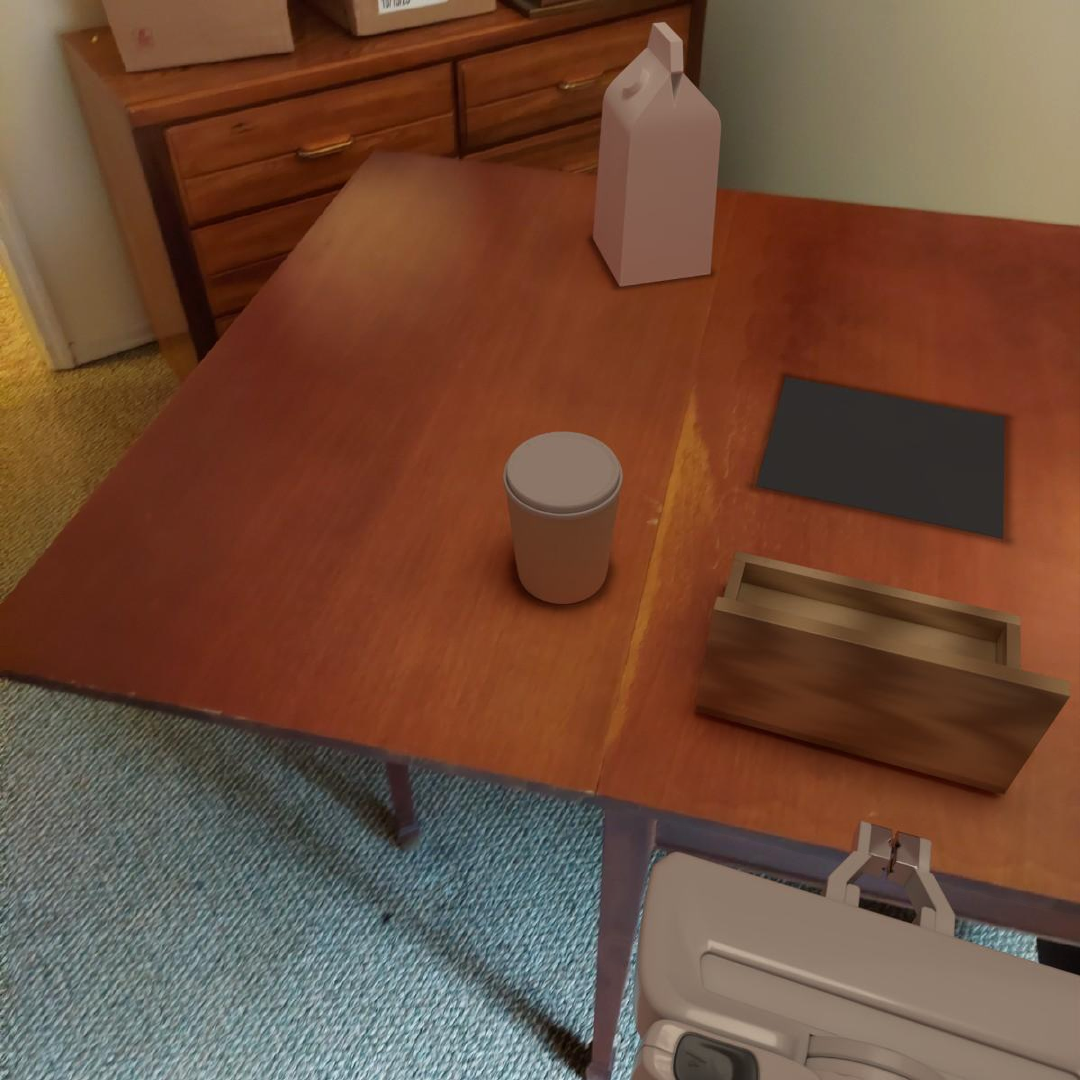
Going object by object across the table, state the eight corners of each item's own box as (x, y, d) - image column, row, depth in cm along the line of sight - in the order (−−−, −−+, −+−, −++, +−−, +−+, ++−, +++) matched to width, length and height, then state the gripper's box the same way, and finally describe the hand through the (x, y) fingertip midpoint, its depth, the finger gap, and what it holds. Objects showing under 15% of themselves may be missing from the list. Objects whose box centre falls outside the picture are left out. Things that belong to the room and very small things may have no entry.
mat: (1003, 418, 97) (1004, 417, 97) (1002, 540, 85) (1003, 538, 85) (785, 378, 102) (785, 376, 102) (755, 487, 90) (756, 485, 90)
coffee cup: (638, 568, 83) (647, 464, 74) (566, 630, 78) (567, 527, 69) (558, 517, 87) (558, 413, 79) (486, 573, 83) (477, 469, 74)
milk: (710, 274, 116) (739, 46, 98) (619, 286, 114) (631, 57, 96) (678, 227, 124) (699, 8, 106) (592, 238, 123) (599, 18, 104)
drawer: (1002, 649, 76) (1063, 539, 67) (1000, 800, 67) (1071, 696, 58) (729, 584, 81) (751, 473, 72) (693, 716, 72) (713, 608, 63)
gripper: (1217, 1270, 30) (1170, 874, 39) (600, 1045, 35) (684, 738, 44) (1131, 1295, 35) (1106, 935, 44) (594, 1093, 40) (672, 805, 49)
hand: (891, 835), depth 44 cm, fingers closed
